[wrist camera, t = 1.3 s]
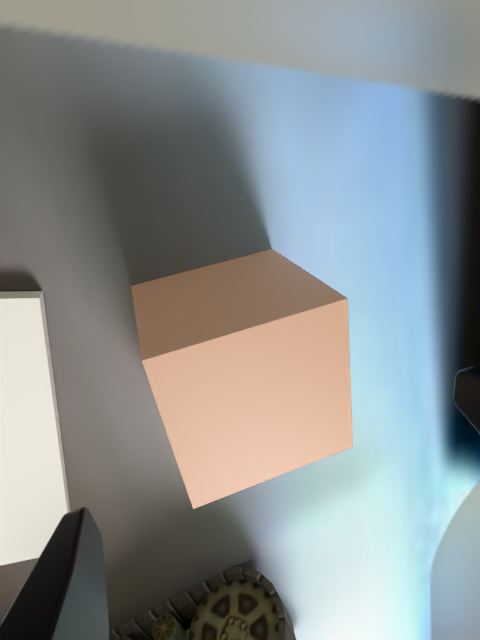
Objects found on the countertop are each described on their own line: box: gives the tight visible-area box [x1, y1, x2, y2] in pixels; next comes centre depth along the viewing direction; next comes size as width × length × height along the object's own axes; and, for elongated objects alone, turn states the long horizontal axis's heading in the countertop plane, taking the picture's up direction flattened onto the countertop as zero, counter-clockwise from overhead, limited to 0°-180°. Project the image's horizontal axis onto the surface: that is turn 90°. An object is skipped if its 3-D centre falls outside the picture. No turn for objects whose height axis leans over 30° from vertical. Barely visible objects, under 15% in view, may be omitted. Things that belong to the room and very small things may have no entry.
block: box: [131, 249, 353, 509], centre depth 12 cm, size 5×5×5 cm
